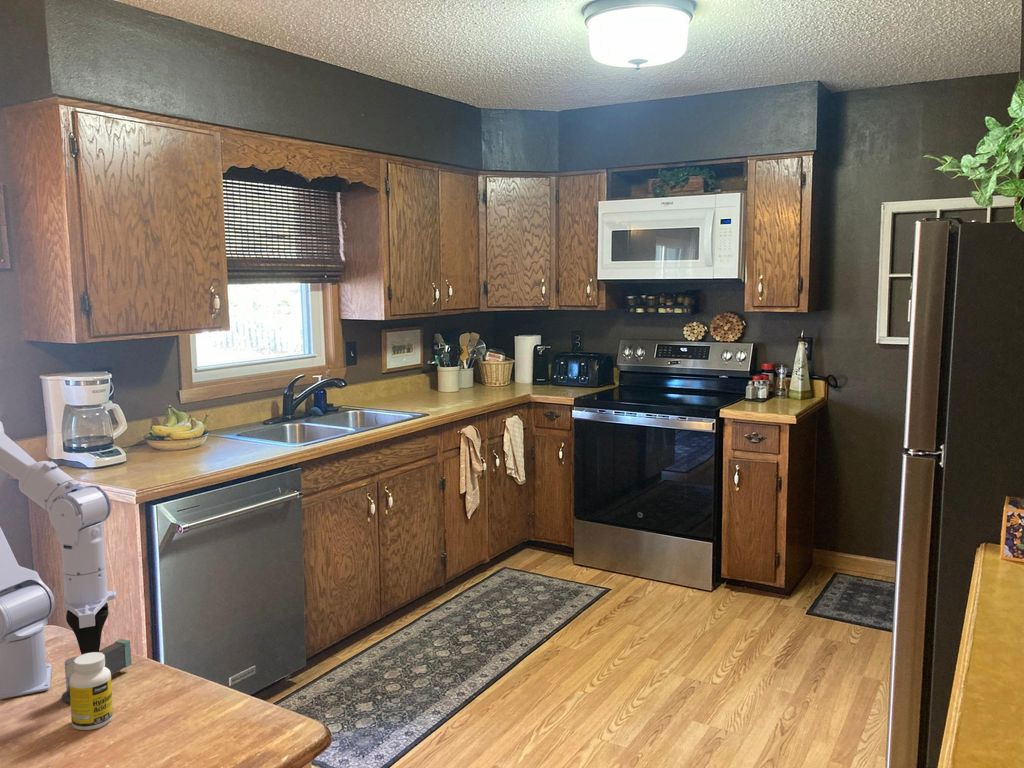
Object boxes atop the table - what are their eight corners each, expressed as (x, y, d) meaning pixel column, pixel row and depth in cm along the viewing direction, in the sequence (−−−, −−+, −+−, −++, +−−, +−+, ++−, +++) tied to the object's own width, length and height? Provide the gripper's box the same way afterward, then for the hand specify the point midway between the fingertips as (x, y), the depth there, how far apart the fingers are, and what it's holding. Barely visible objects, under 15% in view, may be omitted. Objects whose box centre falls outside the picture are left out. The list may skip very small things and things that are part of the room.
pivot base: (62, 693, 131) (62, 690, 131) (93, 687, 133) (93, 683, 133) (61, 706, 127) (61, 702, 127) (94, 700, 129) (93, 696, 129)
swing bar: (77, 697, 128) (74, 666, 127) (62, 694, 129) (59, 663, 128) (134, 665, 138) (132, 636, 138) (119, 662, 139) (117, 633, 139)
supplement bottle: (96, 733, 119) (92, 668, 118) (63, 729, 121) (58, 664, 119) (121, 714, 125) (117, 651, 123) (89, 710, 126) (85, 648, 124)
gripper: (115, 580, 121) (121, 669, 123) (112, 550, 134) (118, 631, 136) (60, 588, 118) (66, 679, 120) (62, 557, 131) (68, 640, 132)
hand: (90, 655), depth 127 cm, fingers closed
